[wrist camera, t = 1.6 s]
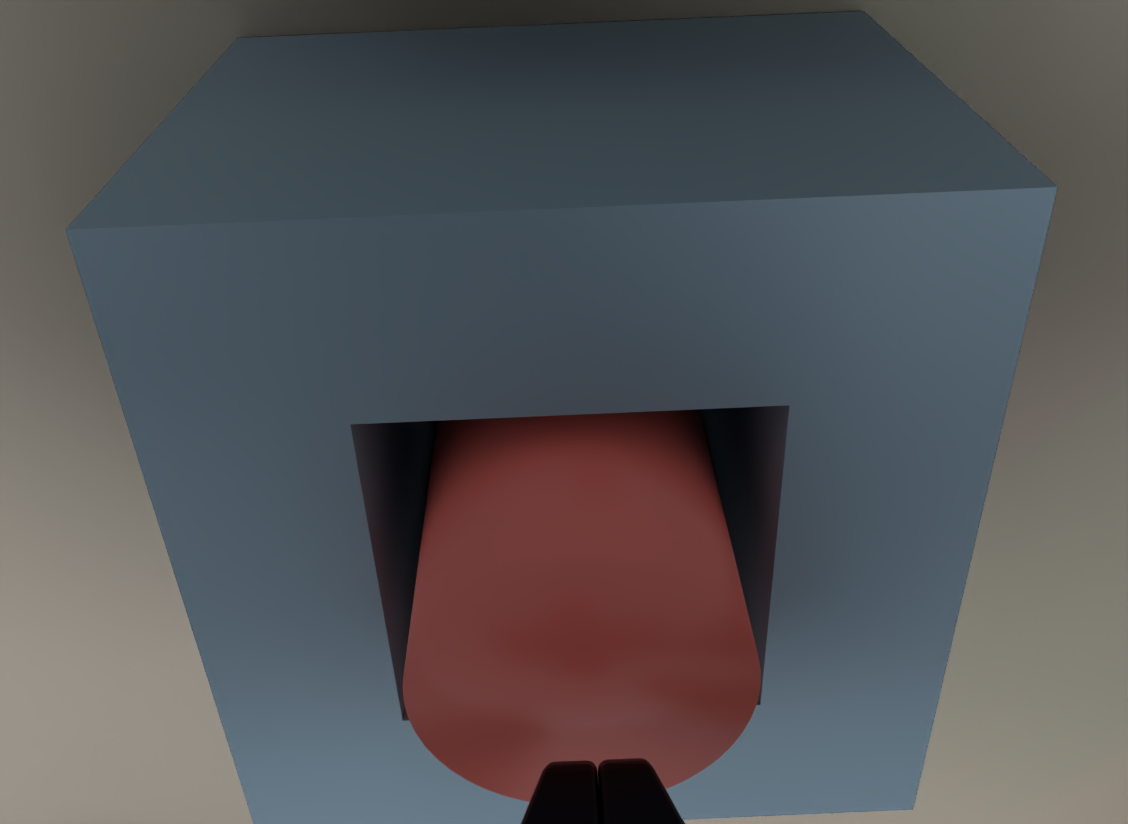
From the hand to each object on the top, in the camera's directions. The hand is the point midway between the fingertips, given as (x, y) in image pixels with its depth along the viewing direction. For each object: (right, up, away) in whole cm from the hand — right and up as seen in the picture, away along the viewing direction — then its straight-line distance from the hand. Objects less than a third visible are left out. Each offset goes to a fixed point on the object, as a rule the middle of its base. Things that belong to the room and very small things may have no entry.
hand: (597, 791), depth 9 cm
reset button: (0, +3, +5) cm, 6 cm away
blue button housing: (0, +5, +7) cm, 9 cm away
